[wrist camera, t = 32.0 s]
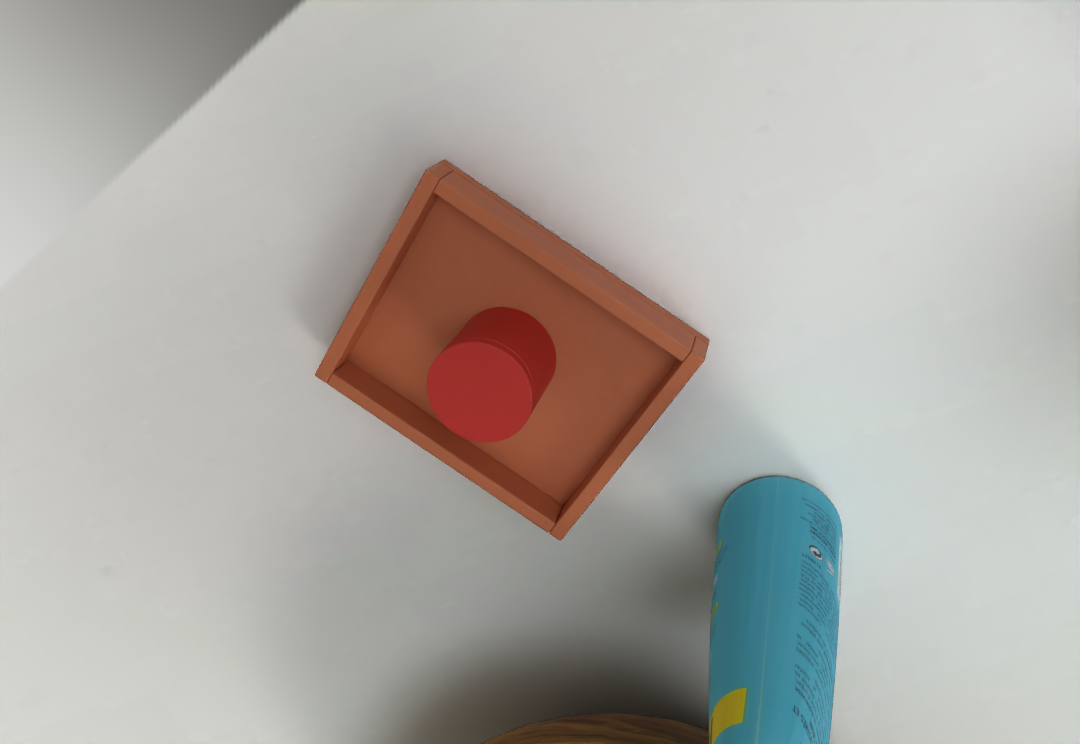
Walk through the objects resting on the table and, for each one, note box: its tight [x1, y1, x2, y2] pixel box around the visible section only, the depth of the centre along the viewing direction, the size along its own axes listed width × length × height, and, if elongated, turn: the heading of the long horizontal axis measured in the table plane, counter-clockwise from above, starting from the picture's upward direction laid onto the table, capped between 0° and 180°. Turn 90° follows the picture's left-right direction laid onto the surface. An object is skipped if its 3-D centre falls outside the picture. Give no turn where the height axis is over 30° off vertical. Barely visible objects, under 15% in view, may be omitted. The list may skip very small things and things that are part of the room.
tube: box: [709, 476, 842, 744], centre depth 30 cm, size 7×5×19 cm, turn 20°
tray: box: [315, 160, 709, 541], centre depth 38 cm, size 12×10×2 cm
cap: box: [427, 307, 556, 443], centre depth 37 cm, size 4×4×4 cm
